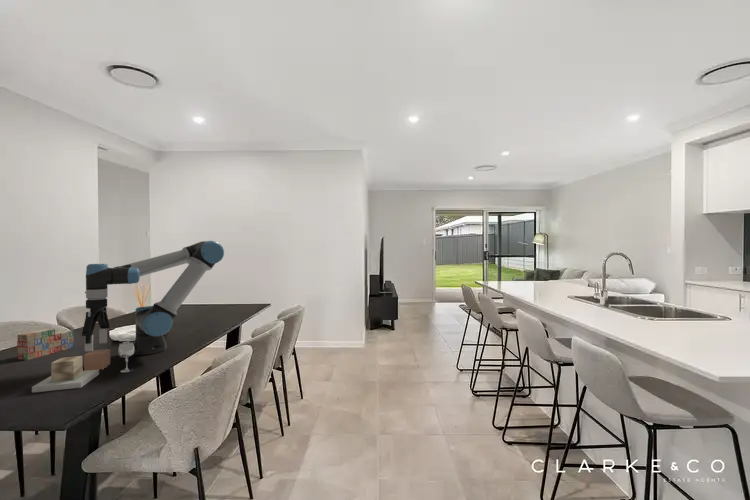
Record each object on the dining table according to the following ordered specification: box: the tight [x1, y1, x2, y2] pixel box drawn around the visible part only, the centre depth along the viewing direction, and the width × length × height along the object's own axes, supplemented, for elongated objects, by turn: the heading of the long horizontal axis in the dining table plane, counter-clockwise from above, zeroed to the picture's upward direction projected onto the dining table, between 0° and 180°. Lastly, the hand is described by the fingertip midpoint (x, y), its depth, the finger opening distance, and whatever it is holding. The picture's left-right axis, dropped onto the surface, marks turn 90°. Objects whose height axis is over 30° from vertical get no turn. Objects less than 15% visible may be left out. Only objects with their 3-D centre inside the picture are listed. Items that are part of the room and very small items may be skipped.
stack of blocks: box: [16, 328, 75, 361], centre depth 180 cm, size 21×6×12 cm, turn 168°
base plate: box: [31, 370, 100, 393], centre depth 139 cm, size 15×15×2 cm
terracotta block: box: [83, 348, 111, 371], centre depth 157 cm, size 7×7×7 cm
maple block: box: [50, 355, 84, 381], centre depth 139 cm, size 7×7×7 cm
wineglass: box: [117, 340, 135, 373], centre depth 153 cm, size 6×6×12 cm
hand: (96, 346), depth 157 cm, fingers open, 13 cm apart
